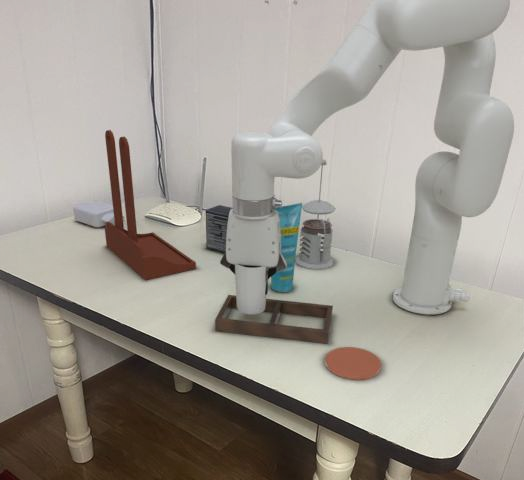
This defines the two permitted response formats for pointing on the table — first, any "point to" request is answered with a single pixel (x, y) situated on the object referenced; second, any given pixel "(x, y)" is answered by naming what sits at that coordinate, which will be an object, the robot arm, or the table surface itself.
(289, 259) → the tube
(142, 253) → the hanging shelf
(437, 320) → the table surface
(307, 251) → the french press
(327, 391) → the table surface
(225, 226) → the small box
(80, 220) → the charger
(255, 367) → the table surface
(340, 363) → the coaster
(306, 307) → the rack
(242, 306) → the white cup
